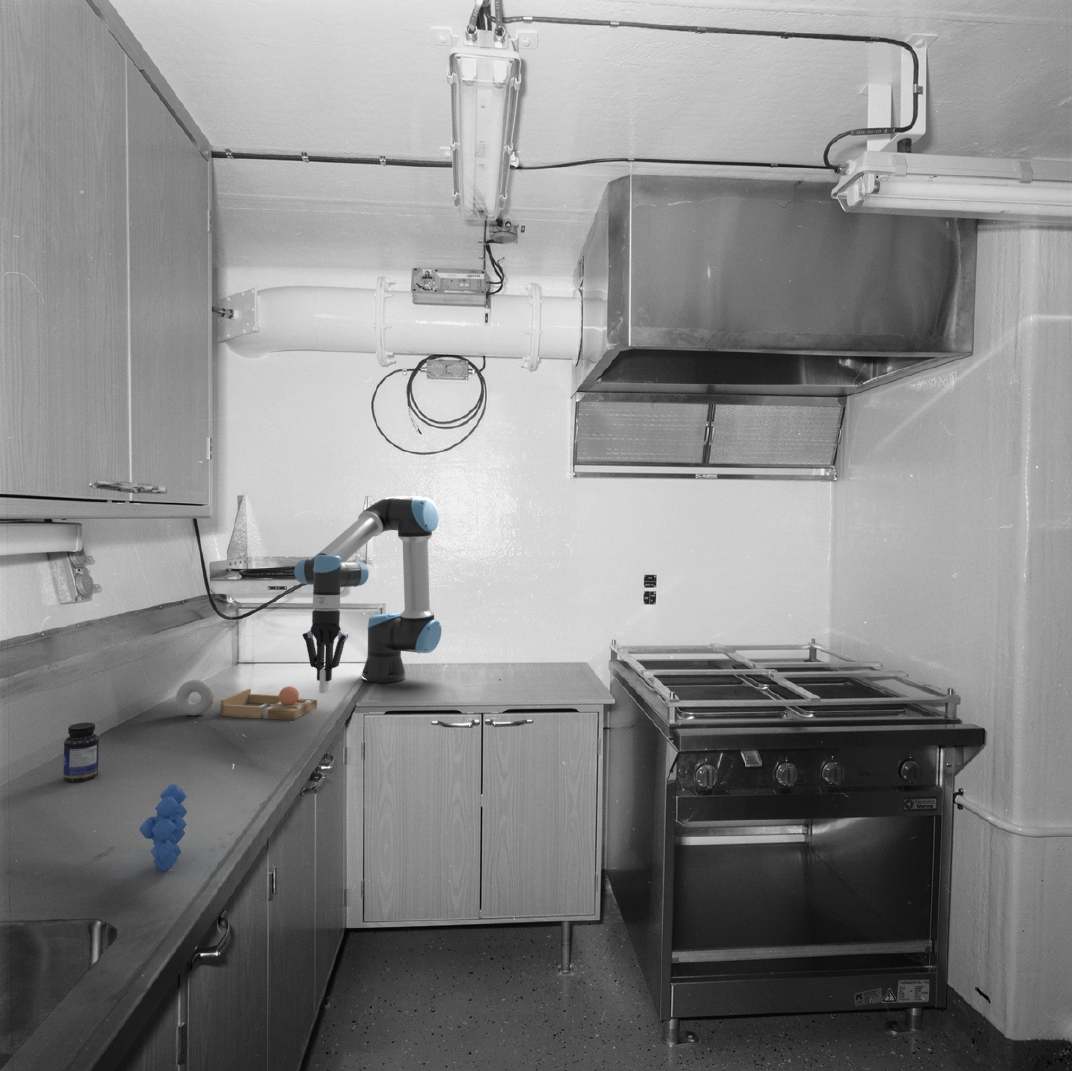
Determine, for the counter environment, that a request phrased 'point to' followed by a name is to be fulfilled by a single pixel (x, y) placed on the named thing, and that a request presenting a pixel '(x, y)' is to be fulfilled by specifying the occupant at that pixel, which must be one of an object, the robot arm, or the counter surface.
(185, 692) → the donut
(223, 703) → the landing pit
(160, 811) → the grapes
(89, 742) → the pill bottle
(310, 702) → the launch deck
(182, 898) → the counter surface
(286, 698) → the ball
